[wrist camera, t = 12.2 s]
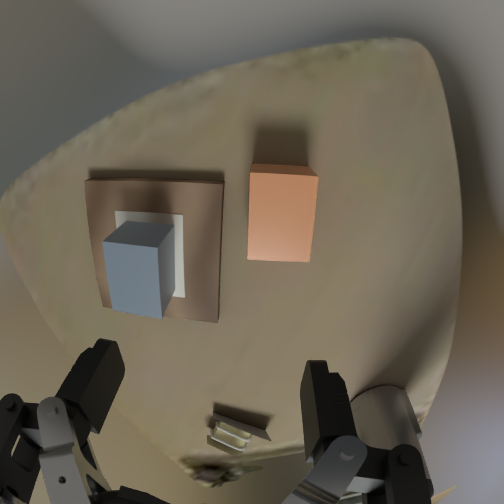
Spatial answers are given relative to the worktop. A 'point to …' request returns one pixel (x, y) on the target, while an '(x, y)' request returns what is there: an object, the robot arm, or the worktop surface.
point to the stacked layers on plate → (232, 435)
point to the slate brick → (141, 267)
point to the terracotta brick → (281, 212)
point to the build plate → (186, 234)
